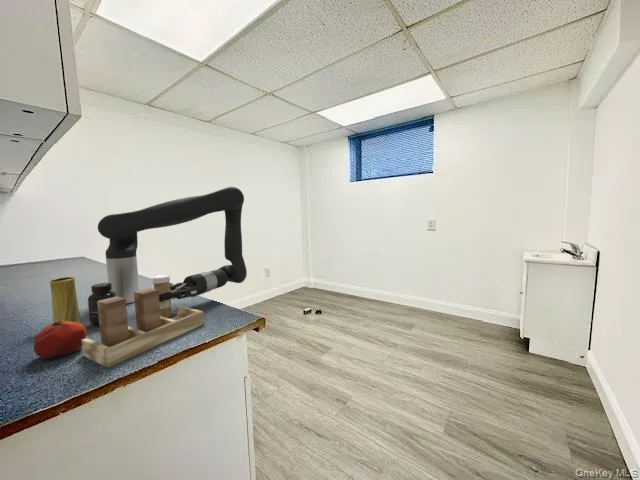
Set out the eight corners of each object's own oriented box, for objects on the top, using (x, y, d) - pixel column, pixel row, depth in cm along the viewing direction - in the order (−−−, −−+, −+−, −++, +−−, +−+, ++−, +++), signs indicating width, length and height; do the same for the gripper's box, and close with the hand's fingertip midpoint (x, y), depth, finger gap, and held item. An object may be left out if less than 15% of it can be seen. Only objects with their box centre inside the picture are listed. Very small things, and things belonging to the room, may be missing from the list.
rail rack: (83, 355, 62) (77, 302, 61) (180, 317, 84) (177, 278, 83) (108, 367, 57) (102, 310, 56) (204, 323, 79) (201, 282, 78)
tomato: (82, 340, 70) (79, 311, 69) (93, 350, 64) (90, 319, 64) (31, 356, 62) (27, 323, 61) (39, 369, 57) (34, 334, 56)
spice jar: (153, 320, 81) (150, 278, 79) (158, 314, 85) (155, 274, 84) (170, 318, 82) (167, 276, 81) (173, 313, 87) (171, 273, 85)
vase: (47, 330, 76) (41, 282, 74) (62, 322, 82) (57, 277, 80) (72, 328, 77) (67, 280, 76) (85, 320, 83) (81, 275, 81)
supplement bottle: (91, 329, 76) (87, 289, 75) (88, 322, 81) (84, 284, 80) (120, 322, 81) (117, 284, 80) (116, 316, 86) (112, 280, 85)
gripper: (187, 271, 98) (139, 282, 83) (214, 275, 92) (167, 288, 77) (188, 290, 99) (140, 305, 84) (215, 296, 93) (169, 313, 78)
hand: (154, 297), depth 81 cm, fingers closed on spice jar, 4 cm apart
